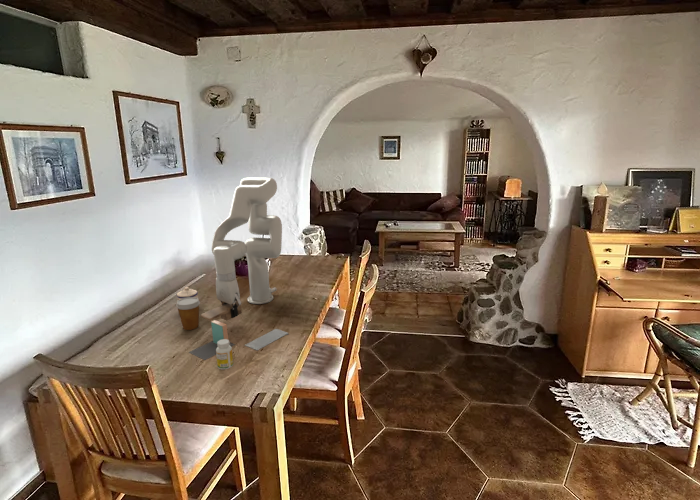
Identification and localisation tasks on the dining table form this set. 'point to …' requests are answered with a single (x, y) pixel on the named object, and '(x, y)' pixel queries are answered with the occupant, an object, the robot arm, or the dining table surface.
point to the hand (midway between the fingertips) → (231, 314)
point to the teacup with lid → (187, 293)
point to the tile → (219, 331)
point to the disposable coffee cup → (189, 312)
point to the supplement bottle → (224, 354)
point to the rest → (266, 339)
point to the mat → (206, 350)
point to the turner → (220, 312)
